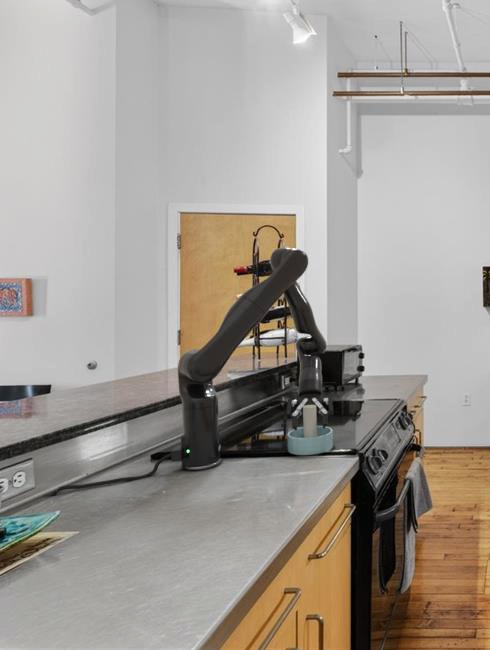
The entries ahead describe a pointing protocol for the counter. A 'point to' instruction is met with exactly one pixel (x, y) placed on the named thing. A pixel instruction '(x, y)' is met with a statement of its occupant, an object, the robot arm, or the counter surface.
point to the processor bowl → (310, 441)
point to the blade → (309, 421)
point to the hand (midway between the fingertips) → (310, 427)
